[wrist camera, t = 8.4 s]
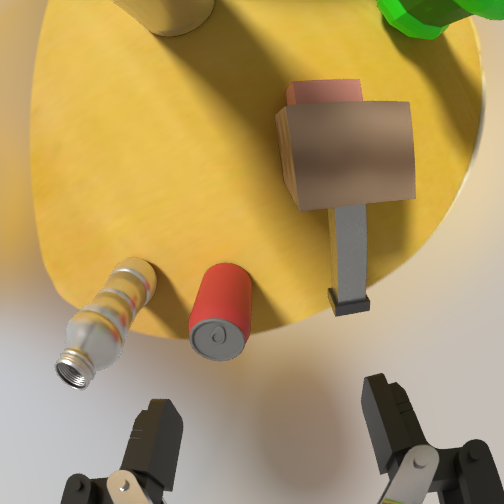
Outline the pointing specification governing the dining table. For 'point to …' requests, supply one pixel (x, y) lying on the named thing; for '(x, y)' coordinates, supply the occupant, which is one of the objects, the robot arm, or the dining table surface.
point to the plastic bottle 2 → (435, 14)
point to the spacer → (324, 91)
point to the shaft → (348, 259)
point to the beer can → (221, 313)
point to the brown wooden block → (346, 153)
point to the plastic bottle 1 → (105, 323)
